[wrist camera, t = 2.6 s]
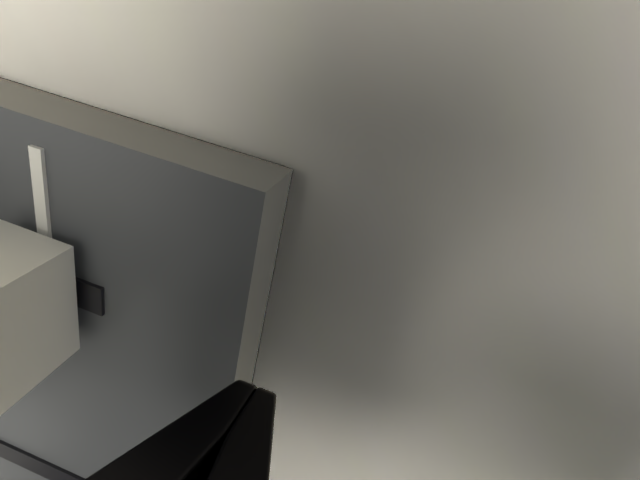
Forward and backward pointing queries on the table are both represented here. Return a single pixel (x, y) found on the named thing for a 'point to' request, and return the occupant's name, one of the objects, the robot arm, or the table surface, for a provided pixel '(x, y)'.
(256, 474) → the robot arm
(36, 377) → the fader
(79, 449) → the console
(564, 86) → the table surface
